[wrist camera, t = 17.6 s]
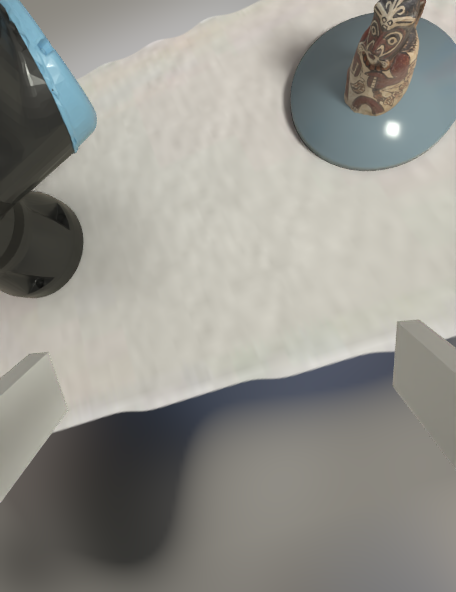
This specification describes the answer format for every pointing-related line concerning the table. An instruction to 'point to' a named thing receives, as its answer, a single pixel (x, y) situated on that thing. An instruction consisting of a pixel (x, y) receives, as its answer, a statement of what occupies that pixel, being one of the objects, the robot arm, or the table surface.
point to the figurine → (384, 58)
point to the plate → (364, 128)
